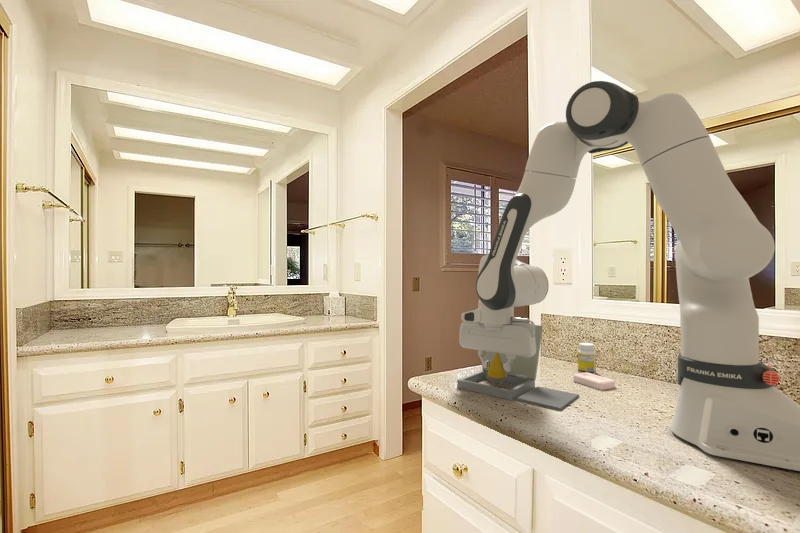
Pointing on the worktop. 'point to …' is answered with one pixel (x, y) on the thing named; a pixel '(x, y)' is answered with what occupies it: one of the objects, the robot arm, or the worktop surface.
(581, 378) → the soap bar
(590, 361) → the supplement bottle
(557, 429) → the worktop surface
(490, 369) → the yellow cone
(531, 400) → the rubber mat
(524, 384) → the equipment case
